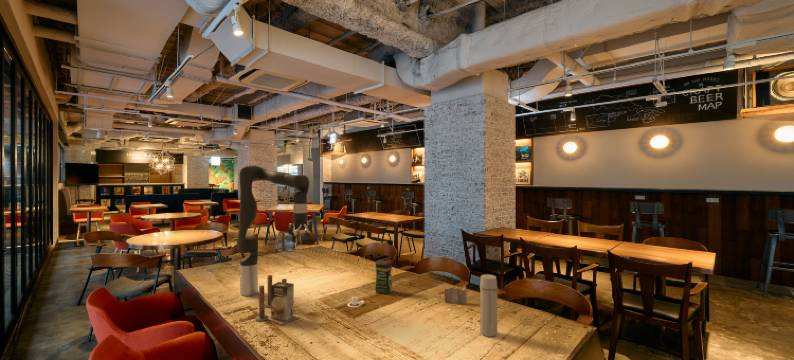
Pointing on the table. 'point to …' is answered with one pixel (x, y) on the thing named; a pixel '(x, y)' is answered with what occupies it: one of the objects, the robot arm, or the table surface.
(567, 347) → the table surface
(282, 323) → the pad
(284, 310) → the coffee box
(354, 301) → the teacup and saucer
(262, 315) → the post
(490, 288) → the water bottle
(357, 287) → the table surface
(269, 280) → the post
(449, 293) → the architectural model on board
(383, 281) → the coffee jar
